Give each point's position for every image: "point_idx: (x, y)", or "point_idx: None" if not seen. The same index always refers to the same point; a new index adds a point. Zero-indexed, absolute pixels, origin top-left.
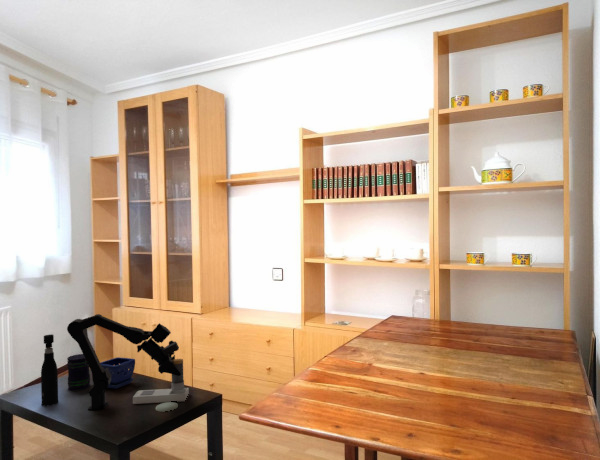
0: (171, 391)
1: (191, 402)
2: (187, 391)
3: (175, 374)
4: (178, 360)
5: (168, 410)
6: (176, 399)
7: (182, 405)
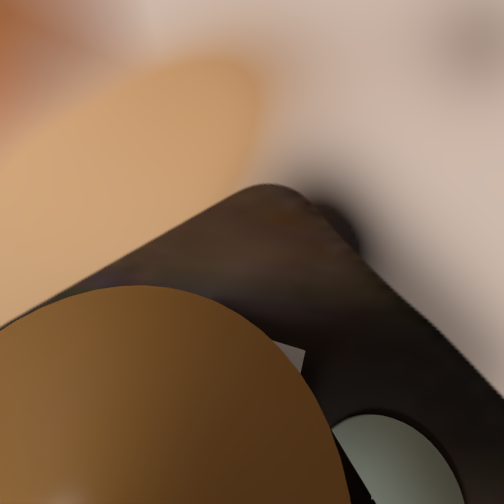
0: None
1: (333, 320)
2: None
3: None
4: (157, 469)
5: (460, 496)
6: None
7: (367, 380)
